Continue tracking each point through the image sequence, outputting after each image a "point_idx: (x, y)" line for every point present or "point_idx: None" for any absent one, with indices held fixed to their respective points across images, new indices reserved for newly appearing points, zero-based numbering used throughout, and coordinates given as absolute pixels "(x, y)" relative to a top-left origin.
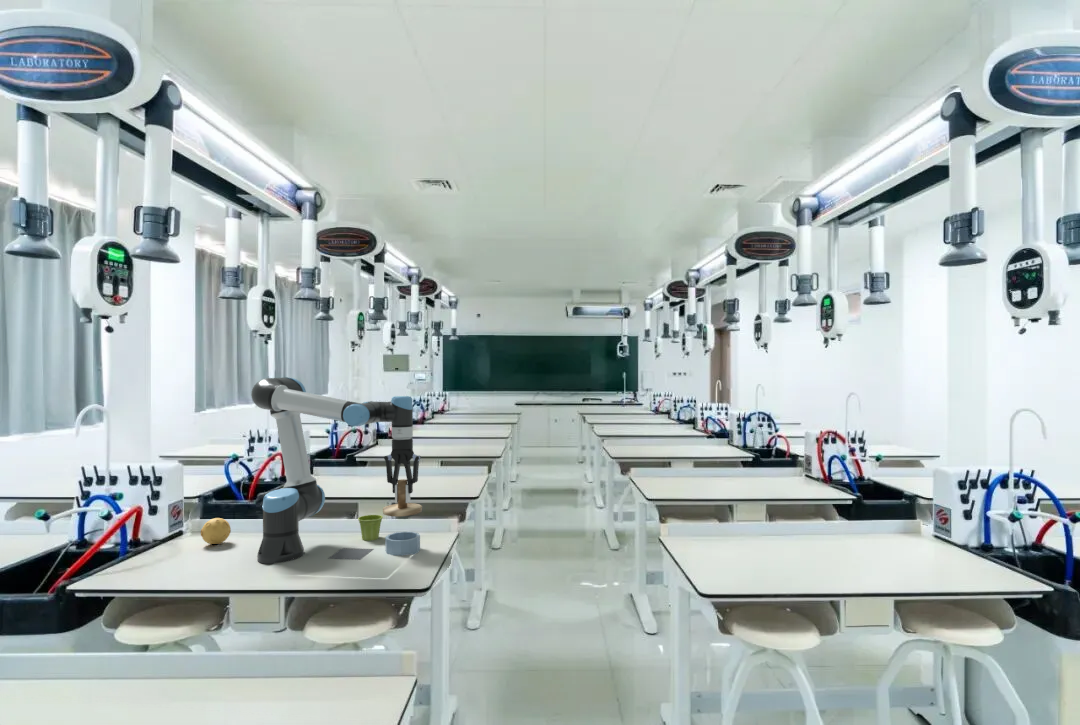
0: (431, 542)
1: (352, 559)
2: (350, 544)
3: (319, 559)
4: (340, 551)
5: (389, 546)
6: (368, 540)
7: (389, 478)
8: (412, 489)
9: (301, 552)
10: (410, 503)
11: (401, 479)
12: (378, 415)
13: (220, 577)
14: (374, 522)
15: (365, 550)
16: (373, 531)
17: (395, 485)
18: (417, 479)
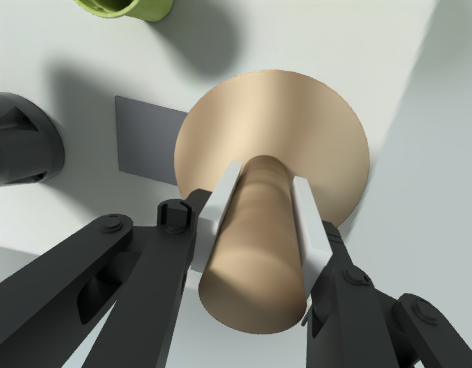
0: (356, 48)
1: (170, 183)
2: (114, 47)
3: (104, 163)
4: (122, 125)
5: None
6: (152, 21)
7: (101, 304)
8: (340, 242)
9: (54, 150)
10: (303, 83)
11: (231, 262)
12: None
13: (14, 220)
14: (137, 5)
15: (176, 125)
16: (152, 11)
17: (197, 268)
18: (448, 341)
